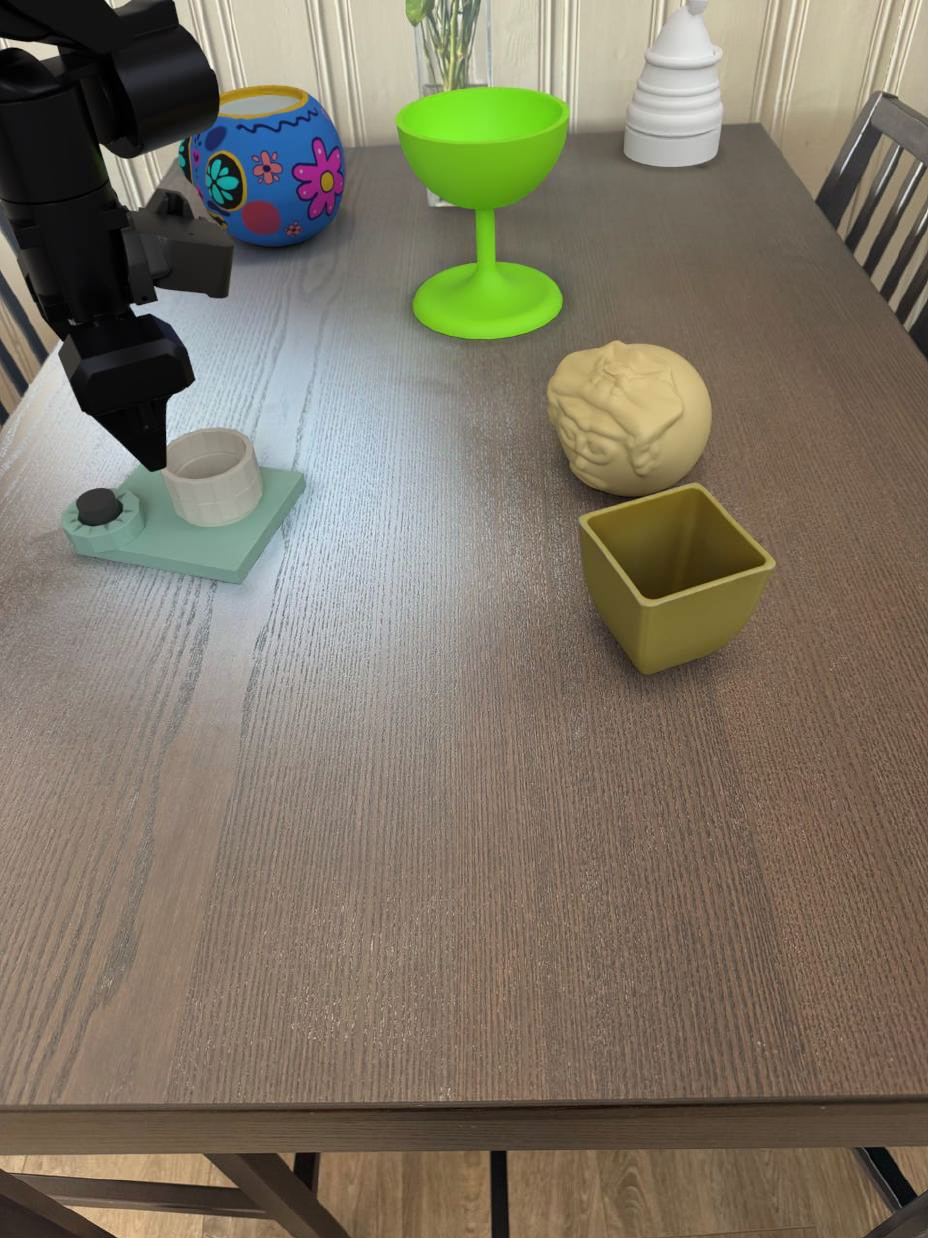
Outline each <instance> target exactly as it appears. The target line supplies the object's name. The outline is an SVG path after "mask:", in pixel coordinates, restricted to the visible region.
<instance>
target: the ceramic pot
mask: <svg viewBox="0 0 928 1238" xmlns="http://www.w3.org/2000/svg"><path fill="white" fill-rule="evenodd" d="M219 94H220V108H219V113H218V117H217V120H216V122H215V123H214V125H213V126H212V127H211V128H210V129H208V130H207V131H205V132H202V133H199V134H197V135H194V136H191V137H189V138H186V139H183V140H181V141H180V142H179V146H178V151H177V152H178V153H177V155H178V163H179V168H180V170H181V172H182V174H183V176H184V177H185V179H186V180H187V181H188V182H189V183H190V185H191V186H193V188H195V189H196V191H197V195H198V196H199V198H200V200H201V202H202V204H203V206H204V207H205V209H206V210H205V211H206V212H207V213H208V215H209V216H210V218H211V219H212V220H214V222H216V223H217V225H218V226H219V227H220V228H221V229H222V230H223V231H224V232H226V233H227V235H228V234H229V235H230V236H232V237H234V238H235V239H237V240H240V241H243V242H245V243H247V244H248V243H249V244H253V245H257V246H262V247H284V246H291V245H295V244H299V243H301V242H304V241H307V240H309V239H310V238H312V237H314V236H315V235H317V234H319V233H320V232H322V231H323V230H324V229H326V228H327V227H328V226H329V224H331V223H332V221H333V220H334V219H335V218H336V216H337V213H338V210H339V208H340V205H341V201H342V198H343V194H344V190H345V186H346V179H347V159H346V154H345V149H344V147H343V143H342V140H341V138H340V136H339V133H338V131H337V129H336V126H335V124H334V123H333V121H332V119H331V117H330V115H329V114H328V112H327V111H326V109H325V108H324V106H323V105H322V104H321V102H319V100H317V99H316V98H315V97H314V96H312V95H311V94H310V93H309V92H307V91H306V90H304V89H301V88H298V87H295V86H290V85H280V84H267V85H264V84H263V85H254V86H253V85H252V86H245V87H241V88H237V89H231V90H229V91H226V92H223V93H219Z"/></svg>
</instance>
